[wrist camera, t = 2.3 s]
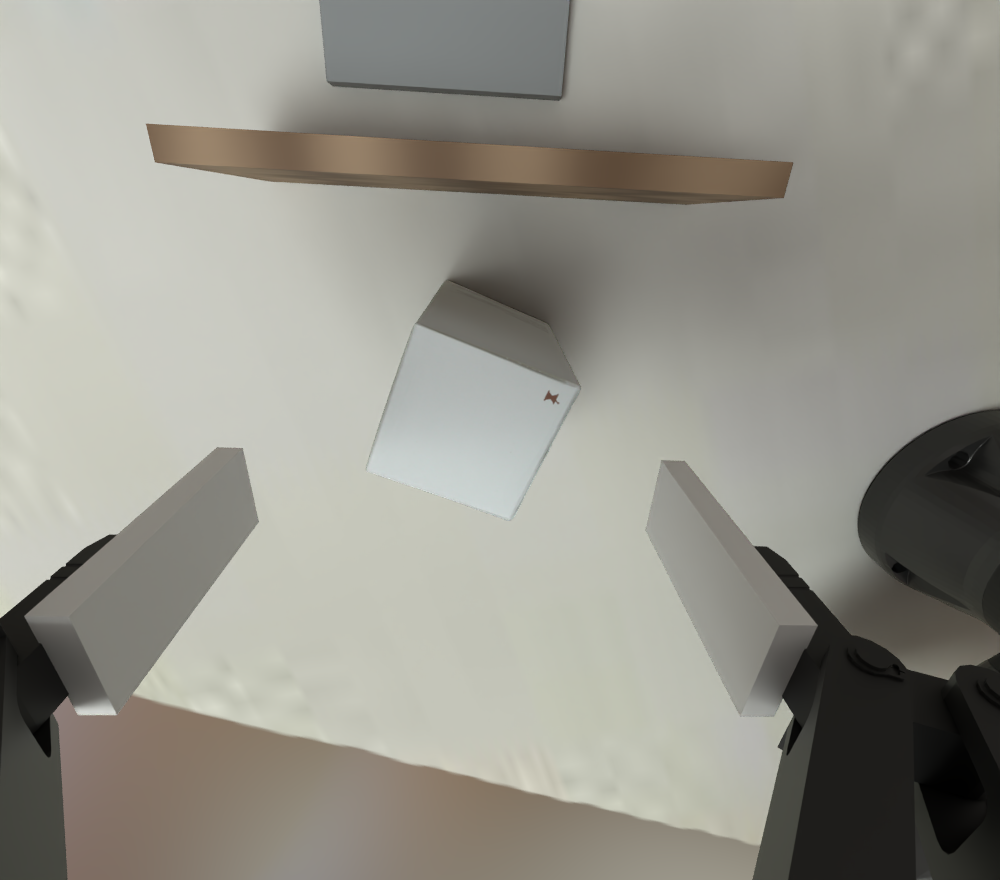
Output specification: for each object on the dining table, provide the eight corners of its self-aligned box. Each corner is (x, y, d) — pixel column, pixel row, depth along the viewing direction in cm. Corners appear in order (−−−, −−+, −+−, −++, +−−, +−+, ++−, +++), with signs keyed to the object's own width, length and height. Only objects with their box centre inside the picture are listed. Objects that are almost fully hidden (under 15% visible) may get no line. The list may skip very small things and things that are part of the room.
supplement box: (444, 275, 29) (414, 314, 17) (551, 323, 30) (589, 388, 19) (406, 380, 32) (359, 473, 20) (505, 420, 33) (514, 527, 22)
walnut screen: (690, 181, 27) (793, 162, 18) (686, 204, 27) (783, 198, 18) (266, 156, 26) (146, 123, 17) (269, 181, 26) (154, 162, 17)
